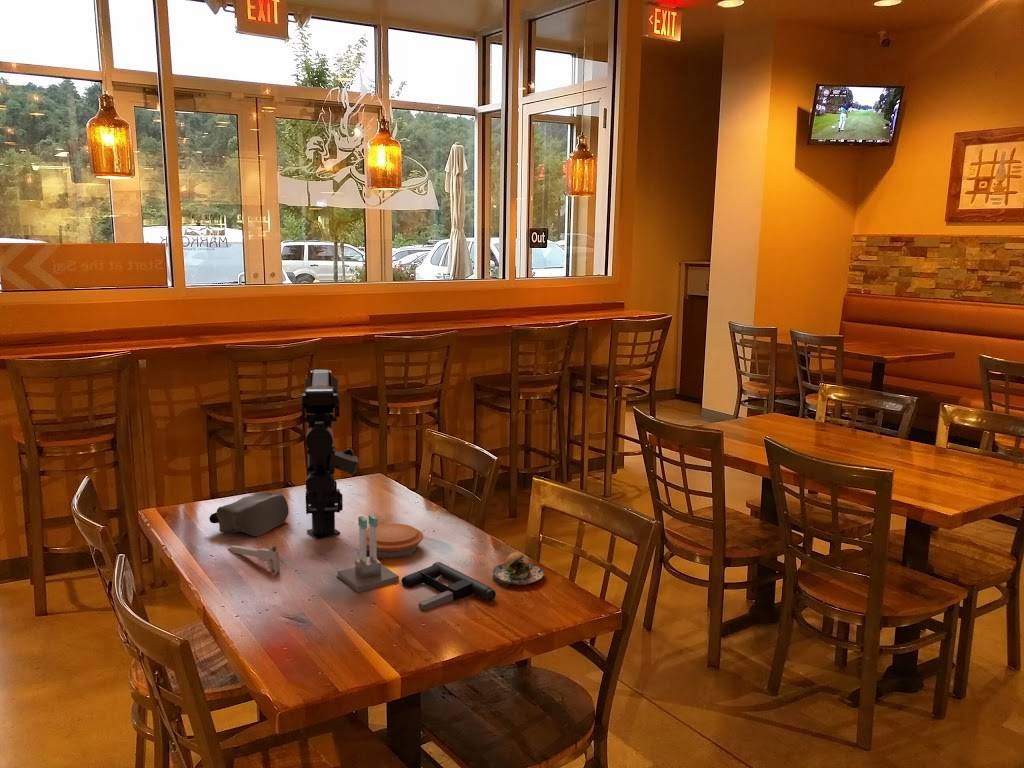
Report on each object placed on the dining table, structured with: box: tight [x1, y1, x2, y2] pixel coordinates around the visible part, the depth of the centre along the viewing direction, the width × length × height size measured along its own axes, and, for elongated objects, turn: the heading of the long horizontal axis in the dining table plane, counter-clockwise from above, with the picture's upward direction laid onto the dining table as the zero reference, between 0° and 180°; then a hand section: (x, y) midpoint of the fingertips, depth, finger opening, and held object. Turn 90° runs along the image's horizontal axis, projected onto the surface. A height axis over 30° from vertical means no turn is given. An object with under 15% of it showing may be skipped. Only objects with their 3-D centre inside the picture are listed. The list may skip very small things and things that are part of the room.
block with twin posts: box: [354, 514, 382, 579], centre depth 181 cm, size 4×4×13 cm
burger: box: [491, 545, 546, 589], centre depth 184 cm, size 12×12×8 cm
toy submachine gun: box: [401, 561, 497, 612], centre depth 176 cm, size 3×20×16 cm
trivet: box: [336, 564, 400, 593], centre depth 182 cm, size 10×10×1 cm
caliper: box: [227, 545, 281, 575], centre depth 190 cm, size 21×1×6 cm, turn 49°
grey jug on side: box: [208, 491, 289, 537], centre depth 212 cm, size 20×12×8 cm, turn 155°
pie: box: [366, 523, 424, 559], centre depth 199 cm, size 16×16×5 cm
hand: (321, 508), depth 189 cm, fingers open, 9 cm apart
